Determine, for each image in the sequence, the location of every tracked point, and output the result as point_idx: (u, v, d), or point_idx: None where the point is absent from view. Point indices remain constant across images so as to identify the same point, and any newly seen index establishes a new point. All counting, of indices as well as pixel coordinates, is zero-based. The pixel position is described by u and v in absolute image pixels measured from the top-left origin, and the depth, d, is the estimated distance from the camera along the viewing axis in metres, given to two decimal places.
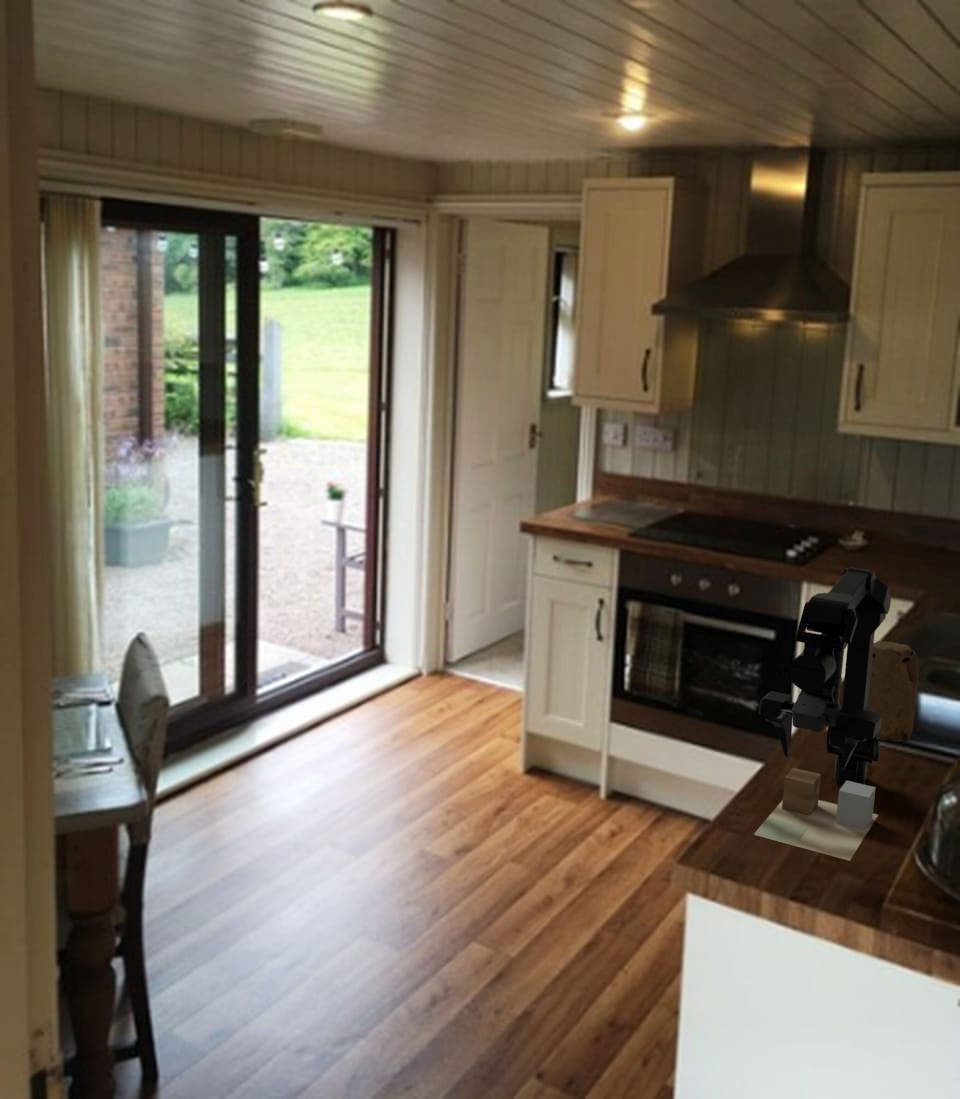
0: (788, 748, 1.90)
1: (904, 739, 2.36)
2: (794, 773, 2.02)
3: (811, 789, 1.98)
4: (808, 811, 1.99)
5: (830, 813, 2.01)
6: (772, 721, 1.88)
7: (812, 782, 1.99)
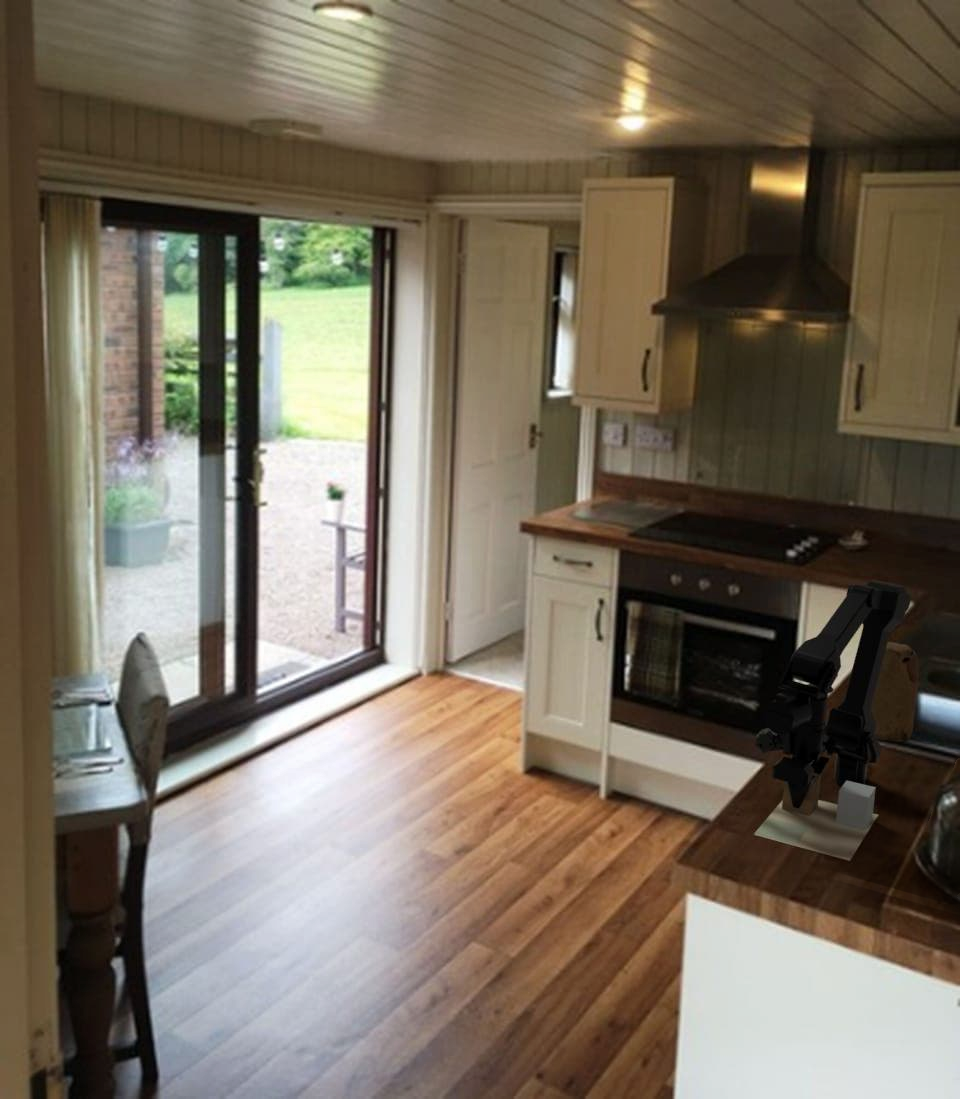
0: None
1: (904, 739, 2.36)
2: None
3: (811, 789, 1.98)
4: (808, 811, 1.99)
5: (830, 813, 2.01)
6: None
7: None
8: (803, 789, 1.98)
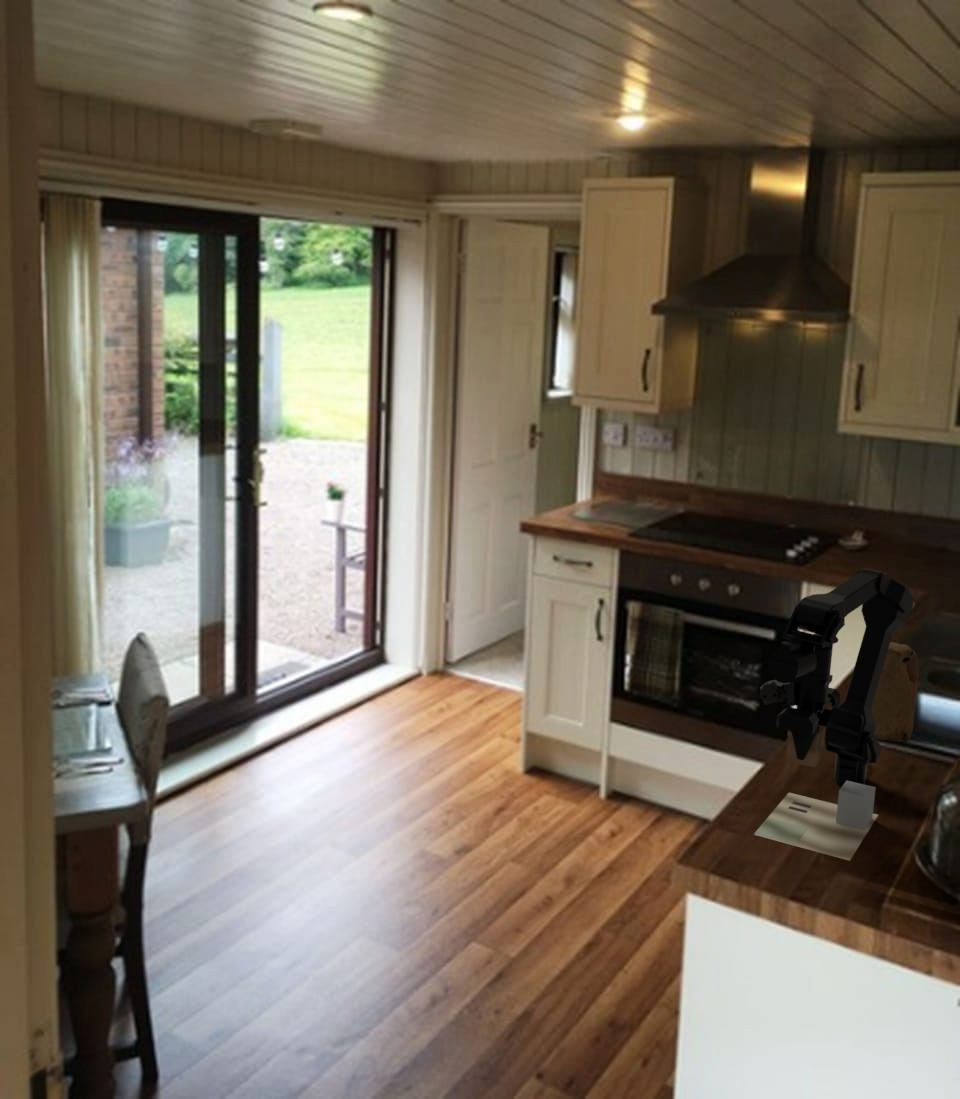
0: None
1: (904, 739, 2.36)
2: None
3: (816, 740, 1.96)
4: (812, 763, 1.97)
5: (830, 813, 2.01)
6: None
7: (817, 733, 1.97)
8: (808, 740, 1.95)
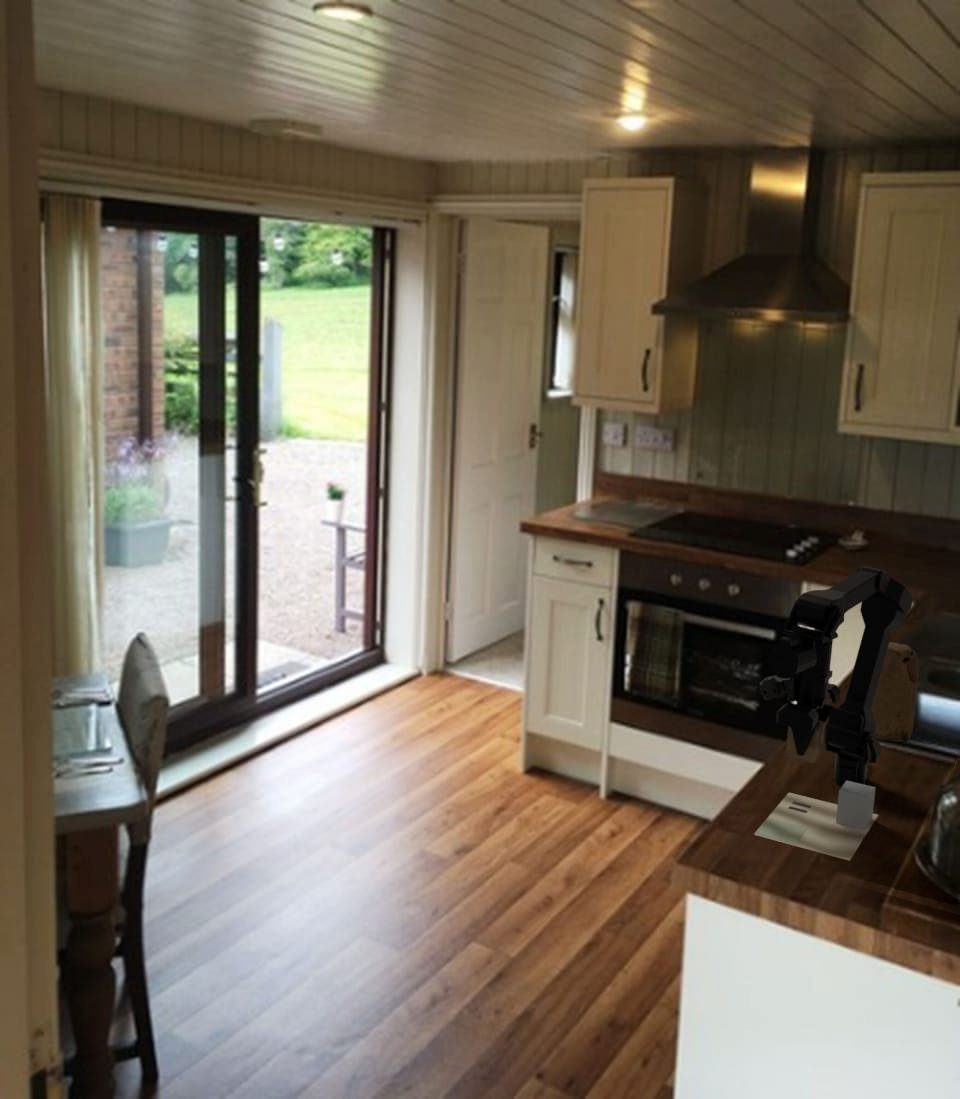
0: None
1: (904, 739, 2.36)
2: None
3: (815, 736, 1.96)
4: (812, 758, 1.97)
5: (830, 813, 2.01)
6: None
7: (817, 729, 1.96)
8: (807, 736, 1.95)
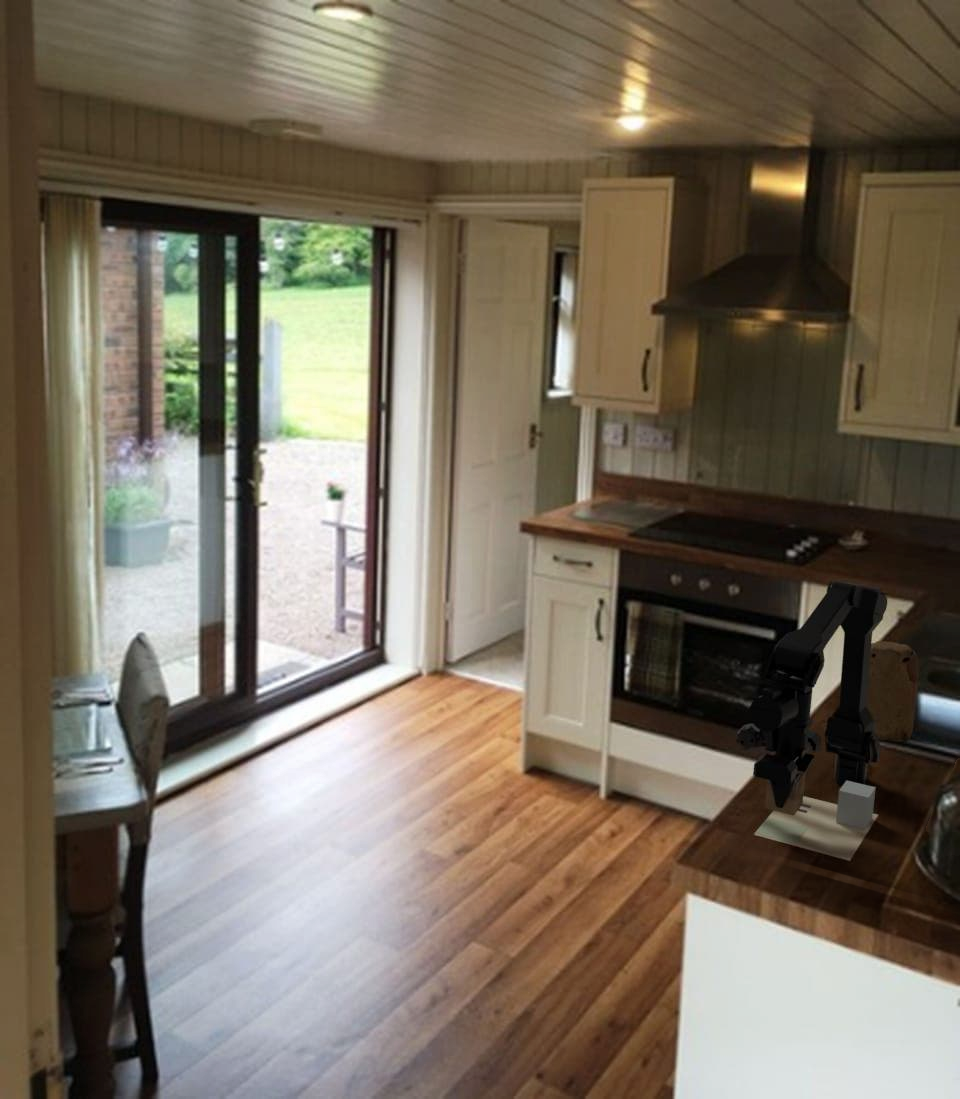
0: None
1: (904, 739, 2.36)
2: None
3: (795, 788, 1.88)
4: (792, 811, 1.89)
5: (830, 813, 2.01)
6: None
7: None
8: (786, 788, 1.87)
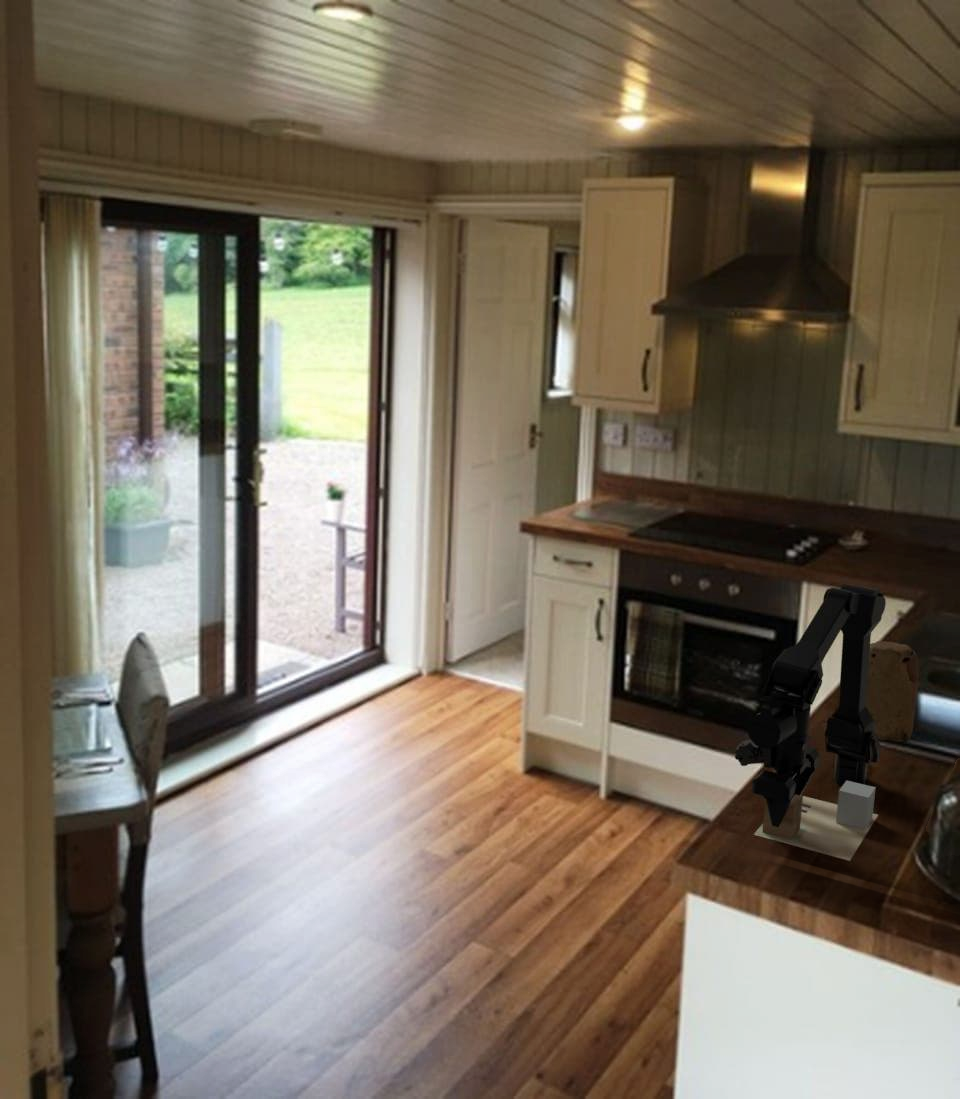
0: None
1: (904, 739, 2.36)
2: None
3: (793, 812, 1.89)
4: (790, 835, 1.90)
5: (830, 813, 2.01)
6: None
7: (794, 805, 1.90)
8: (782, 807, 1.87)
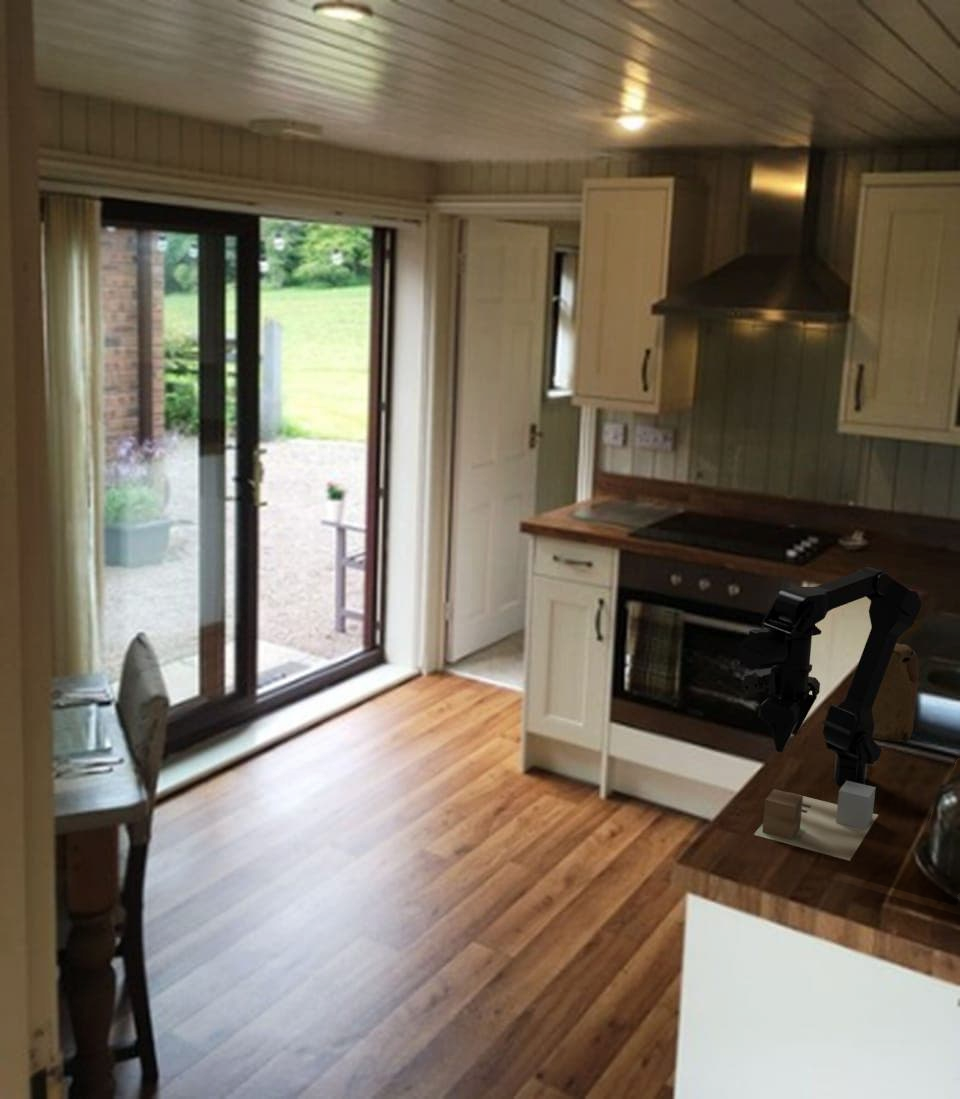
0: None
1: (904, 739, 2.36)
2: (775, 795, 1.93)
3: (793, 812, 1.89)
4: (790, 835, 1.90)
5: (830, 813, 2.01)
6: None
7: (794, 805, 1.90)
8: (786, 732, 1.97)
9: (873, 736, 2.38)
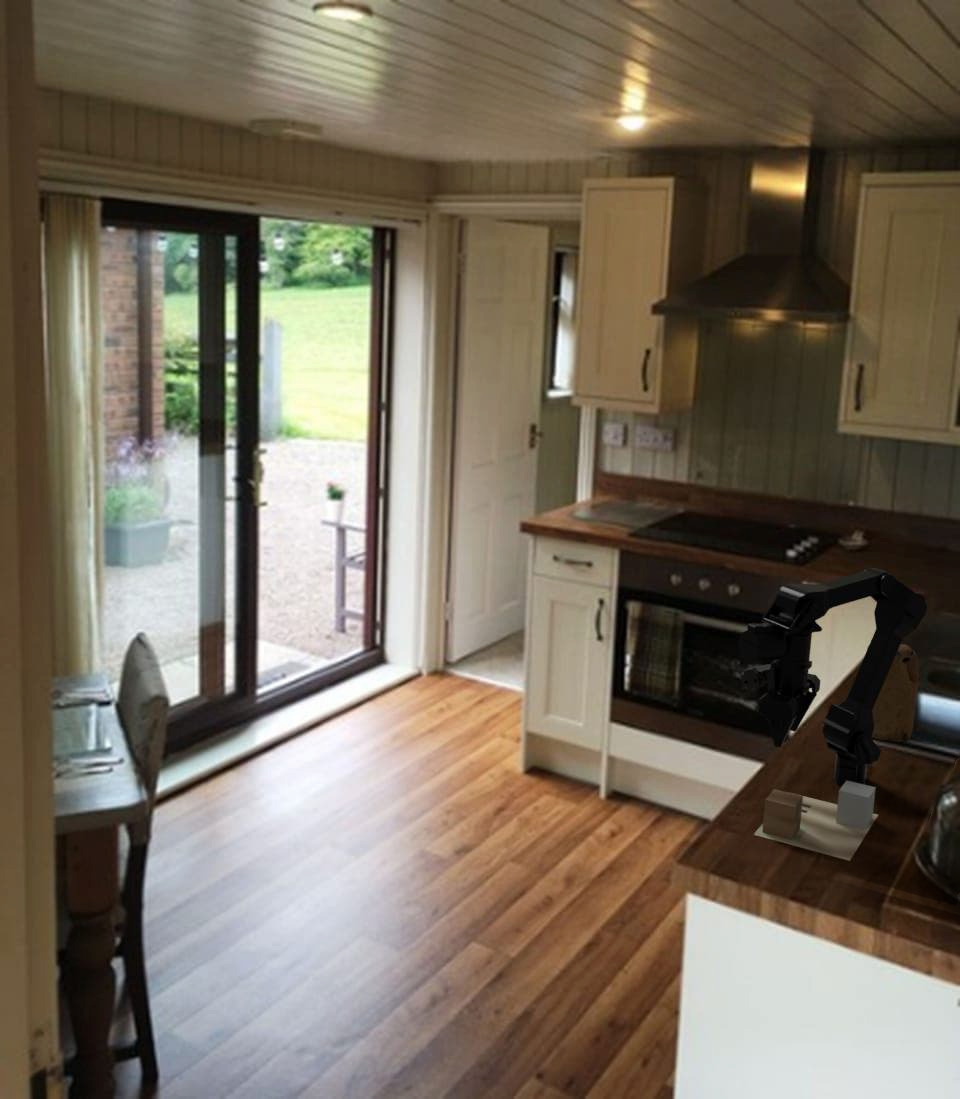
0: (792, 722, 2.09)
1: (904, 739, 2.36)
2: (775, 795, 1.93)
3: (793, 812, 1.89)
4: (790, 835, 1.90)
5: (830, 813, 2.01)
6: None
7: (794, 805, 1.90)
8: (784, 728, 1.98)
9: (873, 736, 2.38)
